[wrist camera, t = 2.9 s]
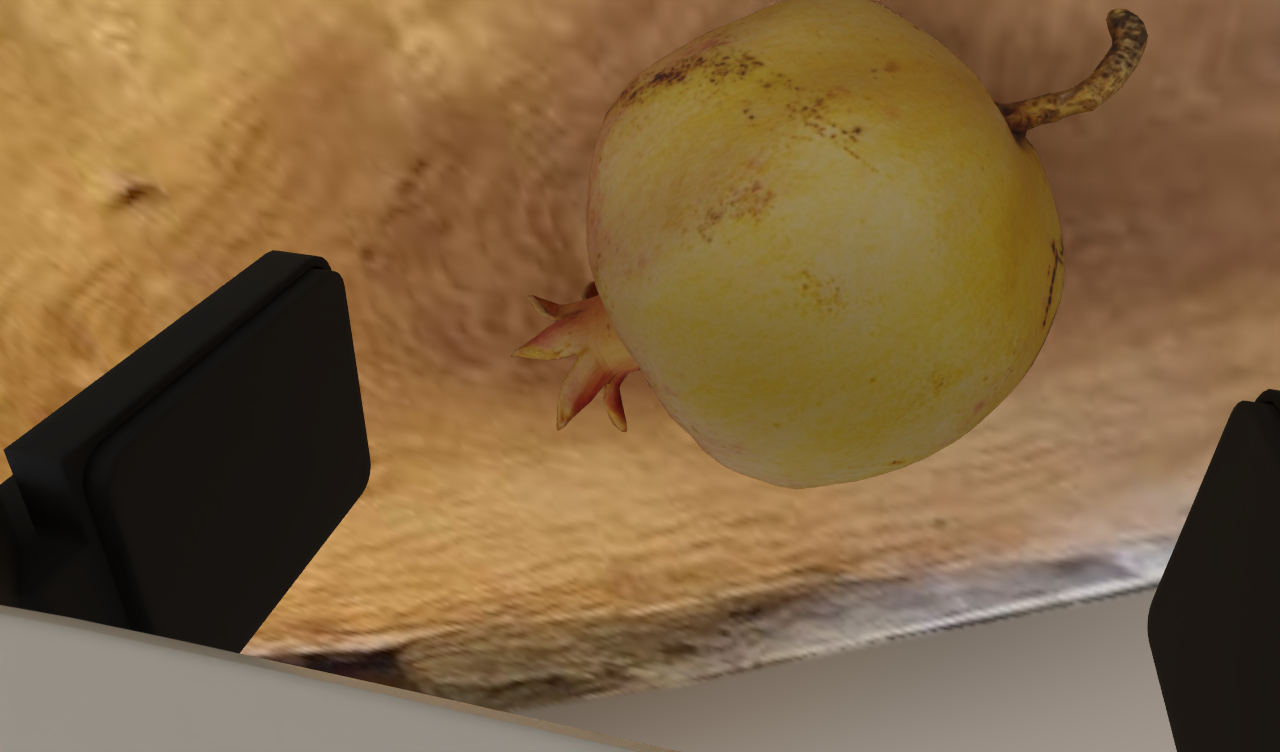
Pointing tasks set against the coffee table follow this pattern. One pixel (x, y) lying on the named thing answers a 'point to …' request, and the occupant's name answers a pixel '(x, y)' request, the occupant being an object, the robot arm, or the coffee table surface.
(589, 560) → the coffee table surface
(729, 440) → the fruit
